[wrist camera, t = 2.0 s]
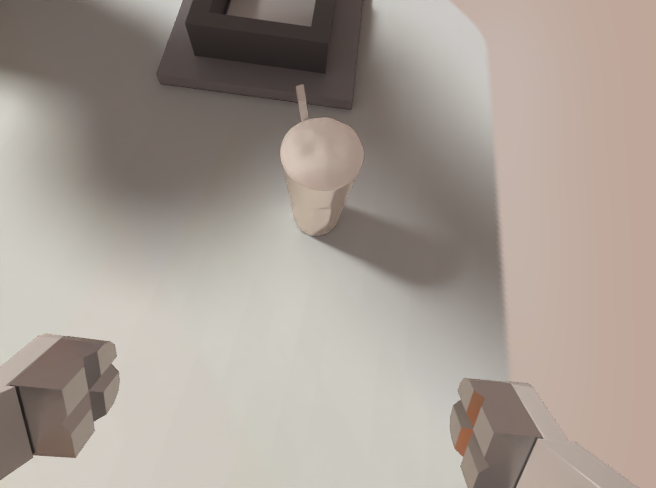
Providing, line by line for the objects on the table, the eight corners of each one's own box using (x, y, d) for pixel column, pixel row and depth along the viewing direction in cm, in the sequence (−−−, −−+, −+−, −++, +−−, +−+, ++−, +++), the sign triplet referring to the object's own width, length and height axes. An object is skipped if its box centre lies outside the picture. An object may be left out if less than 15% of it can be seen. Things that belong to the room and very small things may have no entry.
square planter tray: (160, 83, 32) (142, 42, 28) (203, -41, 38) (193, -88, 34) (350, 109, 32) (357, 72, 28) (363, -17, 38) (371, -62, 34)
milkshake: (325, 173, 30) (338, 73, 20) (356, 231, 28) (385, 150, 19) (271, 192, 29) (258, 97, 19) (299, 254, 27) (300, 181, 18)
